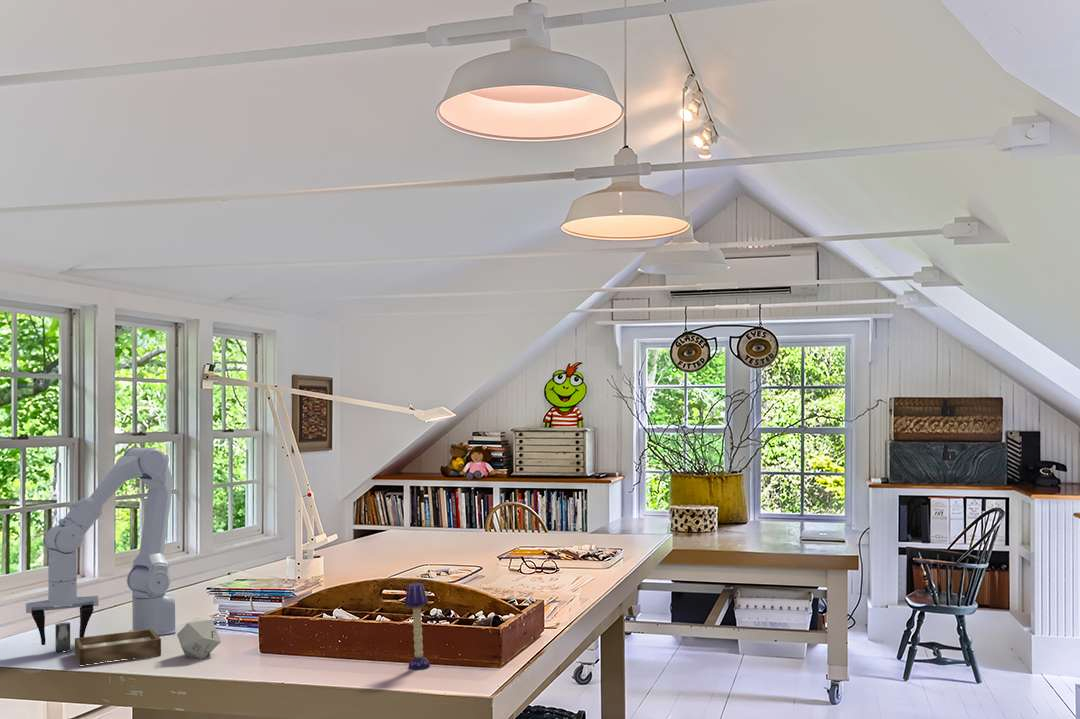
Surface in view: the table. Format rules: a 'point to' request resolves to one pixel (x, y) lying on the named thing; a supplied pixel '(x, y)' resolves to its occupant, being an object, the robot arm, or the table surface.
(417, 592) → the toy lamp
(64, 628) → the peg
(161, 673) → the table surface
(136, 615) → the robot arm
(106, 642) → the peg box
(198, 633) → the die
